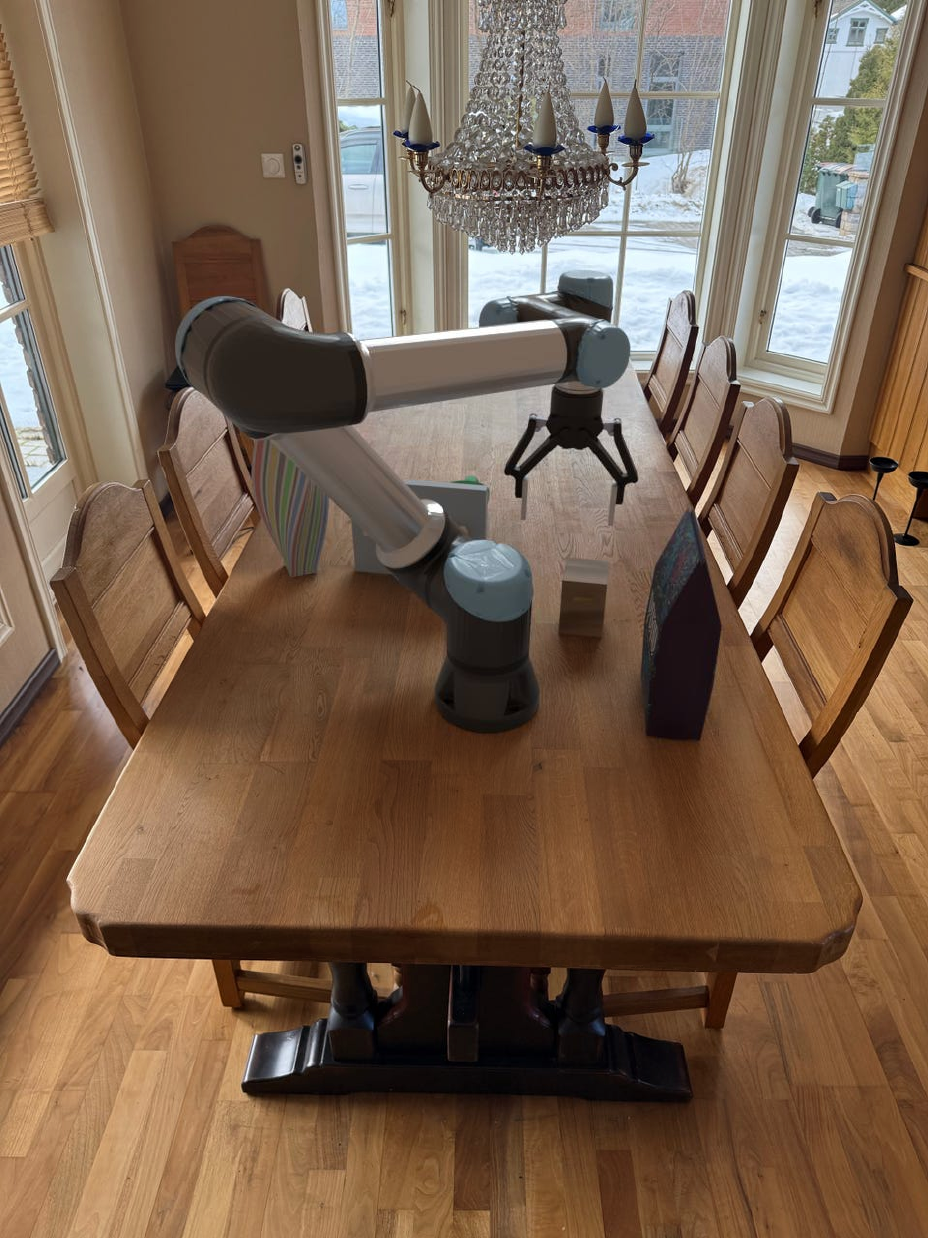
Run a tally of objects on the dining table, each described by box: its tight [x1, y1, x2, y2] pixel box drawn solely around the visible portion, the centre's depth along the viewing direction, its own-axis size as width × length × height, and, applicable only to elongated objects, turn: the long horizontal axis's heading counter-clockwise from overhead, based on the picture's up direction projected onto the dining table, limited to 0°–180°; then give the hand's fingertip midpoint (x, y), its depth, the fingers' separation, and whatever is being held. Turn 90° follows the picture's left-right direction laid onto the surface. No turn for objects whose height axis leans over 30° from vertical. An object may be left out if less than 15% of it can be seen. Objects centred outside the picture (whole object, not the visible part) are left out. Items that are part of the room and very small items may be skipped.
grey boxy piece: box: [350, 478, 489, 576], centre depth 155 cm, size 11×24×18 cm, turn 79°
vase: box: [251, 440, 330, 578], centre depth 152 cm, size 14×14×30 cm
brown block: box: [558, 557, 611, 639], centre depth 142 cm, size 9×7×10 cm
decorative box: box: [640, 507, 723, 741], centre depth 119 cm, size 8×16×28 cm, turn 173°
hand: (566, 519), depth 137 cm, fingers open, 13 cm apart
